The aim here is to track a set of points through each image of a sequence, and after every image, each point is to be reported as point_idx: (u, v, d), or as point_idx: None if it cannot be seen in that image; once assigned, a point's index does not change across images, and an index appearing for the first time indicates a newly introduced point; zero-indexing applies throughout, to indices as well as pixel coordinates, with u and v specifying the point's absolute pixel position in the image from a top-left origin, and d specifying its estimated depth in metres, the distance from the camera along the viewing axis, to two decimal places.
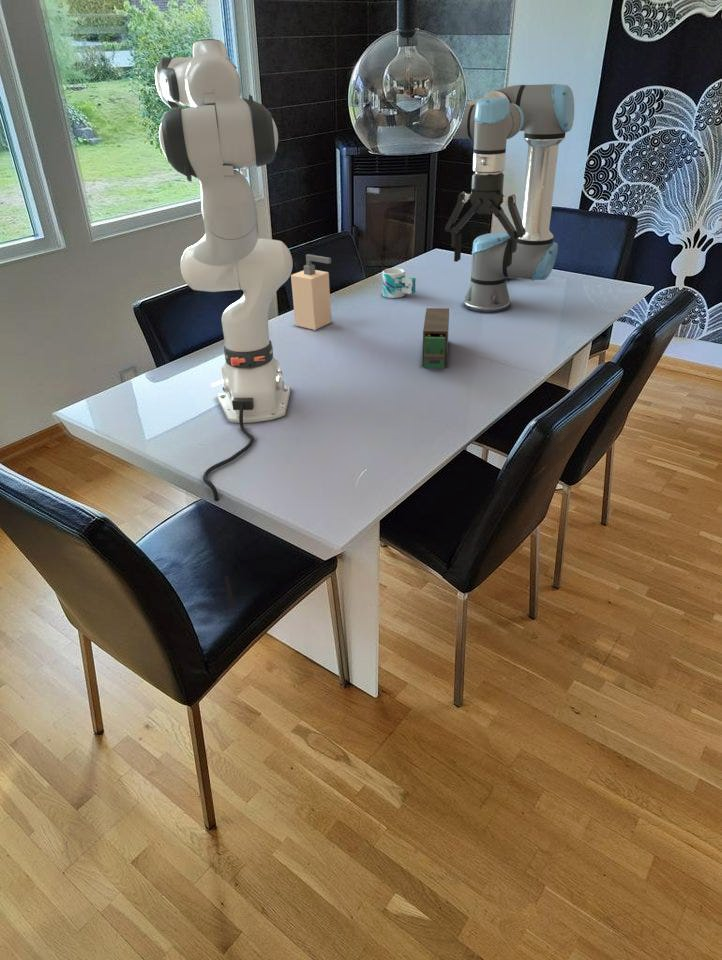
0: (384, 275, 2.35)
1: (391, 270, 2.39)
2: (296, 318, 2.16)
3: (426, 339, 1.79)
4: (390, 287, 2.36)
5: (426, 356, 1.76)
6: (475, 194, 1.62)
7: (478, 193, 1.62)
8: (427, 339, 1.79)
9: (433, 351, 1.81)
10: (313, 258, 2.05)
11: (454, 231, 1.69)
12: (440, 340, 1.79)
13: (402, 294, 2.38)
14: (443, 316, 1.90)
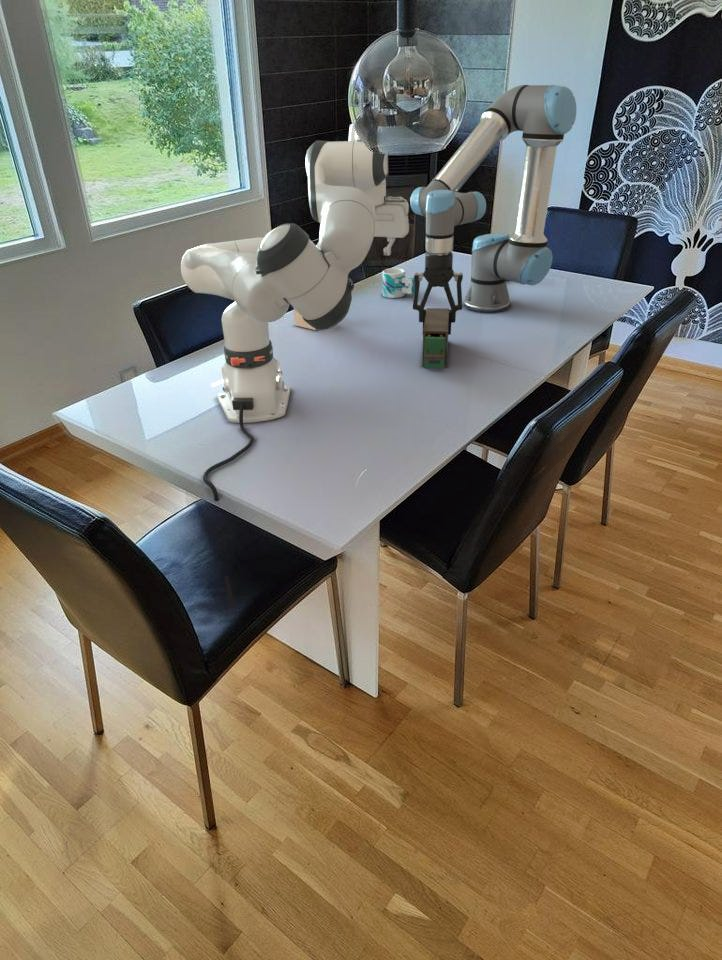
0: (384, 275, 2.35)
1: (391, 270, 2.39)
2: (296, 318, 2.16)
3: (426, 339, 1.79)
4: (390, 287, 2.36)
5: (426, 356, 1.76)
6: None
7: None
8: (427, 339, 1.79)
9: (433, 351, 1.81)
10: None
11: None
12: (440, 340, 1.79)
13: (402, 294, 2.38)
14: (443, 316, 1.90)
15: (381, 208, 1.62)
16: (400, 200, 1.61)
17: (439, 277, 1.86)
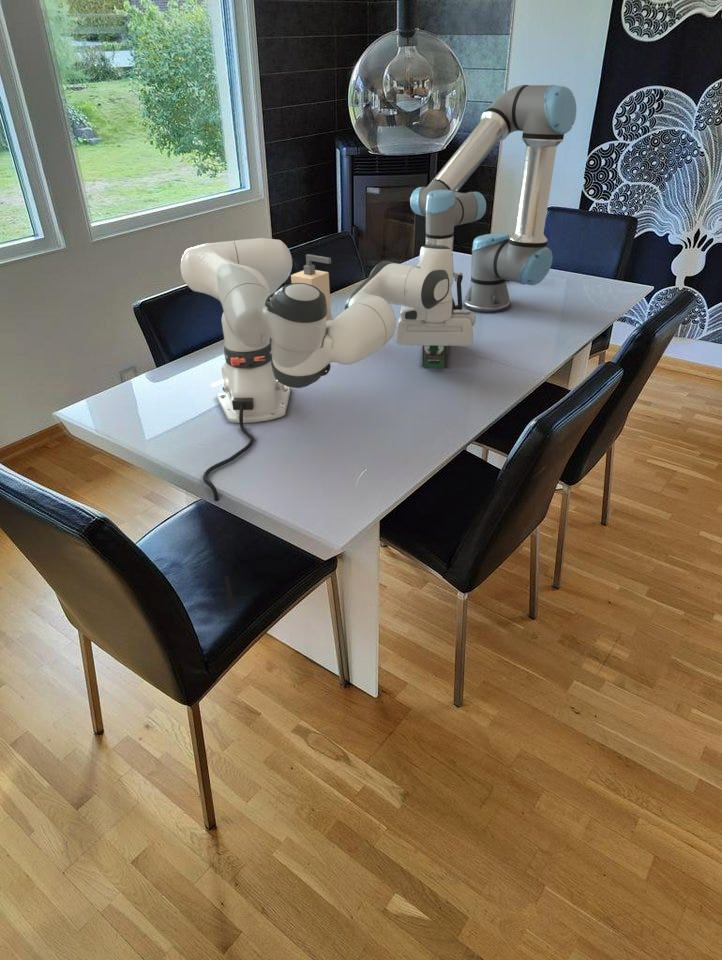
0: None
1: None
2: None
3: None
4: None
5: (426, 356, 1.76)
6: None
7: None
8: None
9: None
10: (313, 258, 2.05)
11: None
12: None
13: None
14: None
15: (450, 321, 1.70)
16: (468, 313, 1.70)
17: None
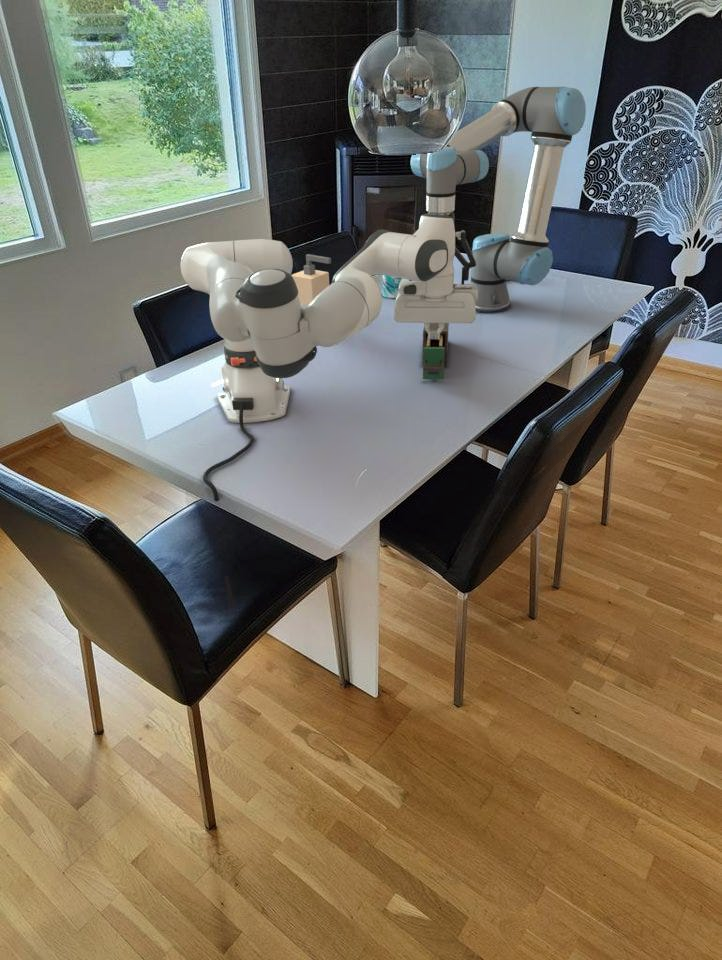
0: (384, 275, 2.35)
1: None
2: None
3: (425, 349, 1.73)
4: (390, 287, 2.36)
5: (425, 367, 1.70)
6: None
7: None
8: (426, 349, 1.73)
9: (432, 362, 1.75)
10: (313, 258, 2.05)
11: None
12: (439, 350, 1.73)
13: None
14: None
15: (451, 296, 1.61)
16: (470, 287, 1.60)
17: None
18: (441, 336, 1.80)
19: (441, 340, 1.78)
